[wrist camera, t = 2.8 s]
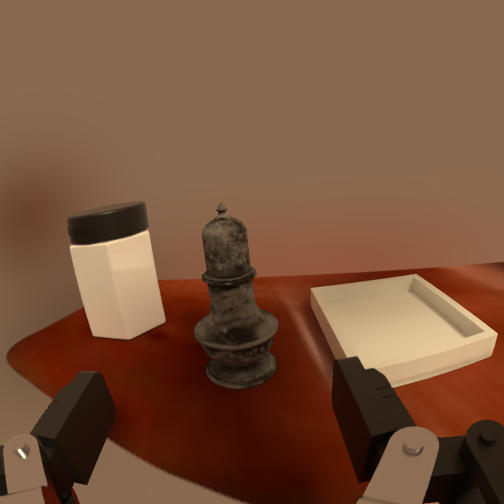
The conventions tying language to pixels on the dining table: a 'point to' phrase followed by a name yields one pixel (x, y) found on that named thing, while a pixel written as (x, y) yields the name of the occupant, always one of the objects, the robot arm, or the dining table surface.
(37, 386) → the dining table surface
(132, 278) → the jar
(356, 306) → the tray
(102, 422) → the robot arm
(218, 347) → the salt shaker
